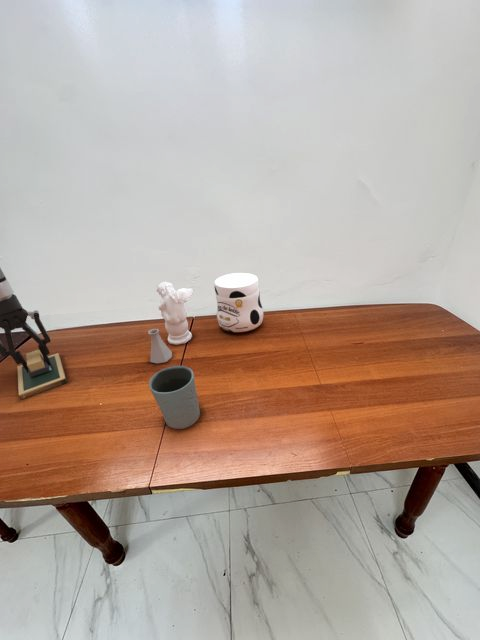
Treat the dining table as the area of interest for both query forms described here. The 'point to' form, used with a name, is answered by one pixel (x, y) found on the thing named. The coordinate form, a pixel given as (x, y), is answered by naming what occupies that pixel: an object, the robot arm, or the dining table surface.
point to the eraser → (36, 363)
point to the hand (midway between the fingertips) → (39, 366)
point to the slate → (41, 378)
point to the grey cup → (176, 396)
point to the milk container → (238, 302)
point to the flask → (158, 348)
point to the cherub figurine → (175, 312)
